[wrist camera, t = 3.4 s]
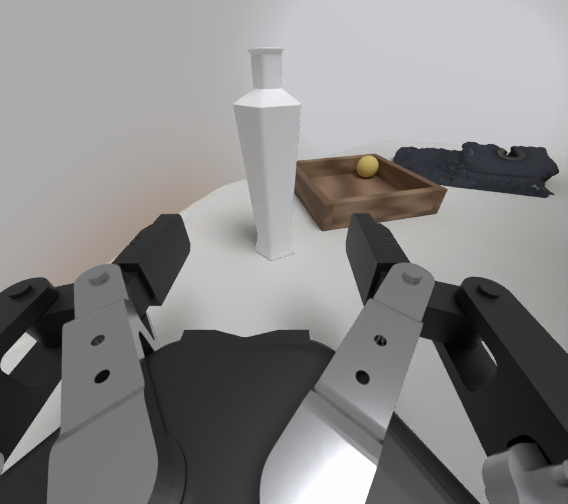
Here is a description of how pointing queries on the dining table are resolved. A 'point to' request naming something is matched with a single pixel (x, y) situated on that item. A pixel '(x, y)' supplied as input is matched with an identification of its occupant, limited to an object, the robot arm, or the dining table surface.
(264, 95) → the white faceted vase
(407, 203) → the tray
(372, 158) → the ball
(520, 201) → the dining table surface
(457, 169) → the dark folded fabric bundle
